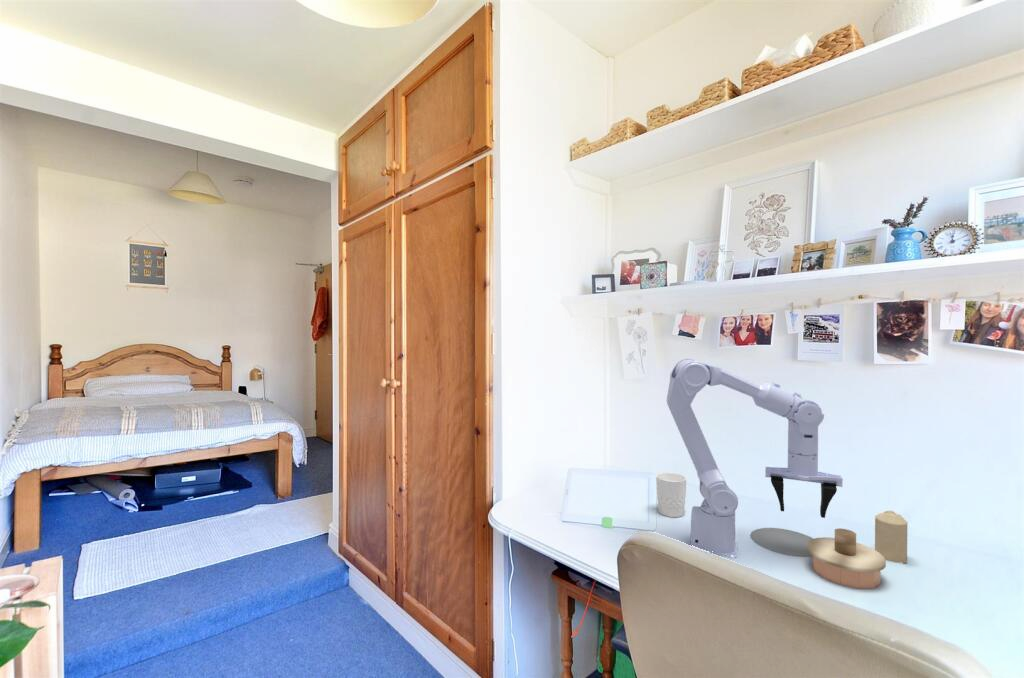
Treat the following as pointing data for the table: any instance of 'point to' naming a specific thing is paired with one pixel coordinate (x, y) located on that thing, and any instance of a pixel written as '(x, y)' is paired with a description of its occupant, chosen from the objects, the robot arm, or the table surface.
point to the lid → (846, 552)
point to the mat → (782, 541)
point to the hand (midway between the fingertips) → (802, 512)
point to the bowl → (846, 575)
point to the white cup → (671, 494)
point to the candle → (891, 536)
